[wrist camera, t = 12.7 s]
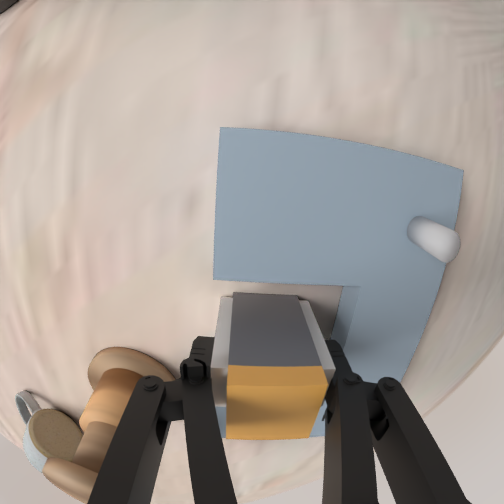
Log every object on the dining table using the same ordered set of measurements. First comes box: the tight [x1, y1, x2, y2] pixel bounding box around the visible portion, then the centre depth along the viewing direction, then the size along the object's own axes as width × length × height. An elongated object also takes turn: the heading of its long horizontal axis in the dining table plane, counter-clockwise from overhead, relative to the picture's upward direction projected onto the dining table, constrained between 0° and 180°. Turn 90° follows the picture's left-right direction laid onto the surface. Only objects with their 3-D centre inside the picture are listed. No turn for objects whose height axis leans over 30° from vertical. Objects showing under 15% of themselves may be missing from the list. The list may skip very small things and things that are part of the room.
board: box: [213, 127, 464, 438], centre depth 16 cm, size 22×14×6 cm, turn 176°
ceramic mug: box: [15, 391, 83, 473], centre depth 20 cm, size 11×8×8 cm
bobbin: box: [42, 347, 175, 504], centre depth 15 cm, size 8×8×12 cm
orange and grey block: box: [226, 292, 328, 440], centre depth 14 cm, size 4×4×8 cm
